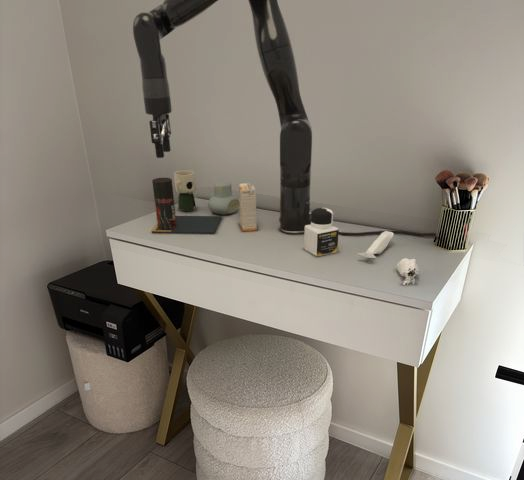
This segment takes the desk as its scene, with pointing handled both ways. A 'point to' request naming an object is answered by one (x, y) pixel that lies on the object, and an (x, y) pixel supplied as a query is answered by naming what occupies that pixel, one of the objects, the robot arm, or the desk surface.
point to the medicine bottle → (321, 233)
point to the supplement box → (247, 206)
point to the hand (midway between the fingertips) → (163, 154)
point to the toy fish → (378, 245)
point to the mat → (193, 225)
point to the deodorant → (164, 203)
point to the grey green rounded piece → (223, 199)
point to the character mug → (185, 189)
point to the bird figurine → (408, 269)
